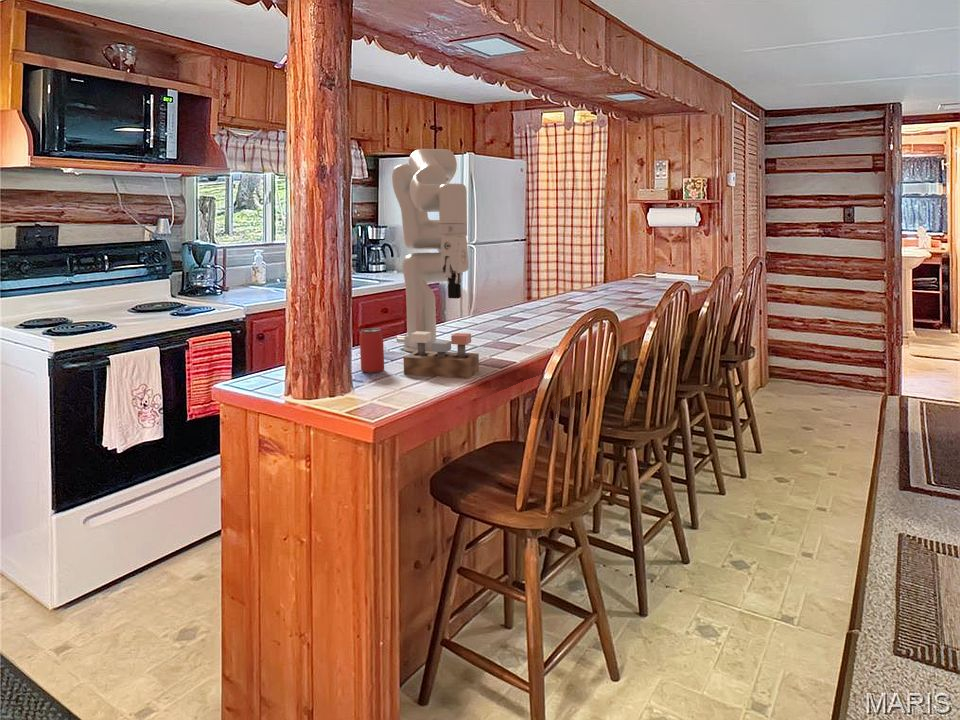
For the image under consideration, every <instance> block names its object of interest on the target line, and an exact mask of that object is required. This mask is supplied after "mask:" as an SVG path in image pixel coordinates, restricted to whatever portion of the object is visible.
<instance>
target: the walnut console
mask: <svg viewBox="0 0 960 720" xmlns="http://www.w3.org/2000/svg"><path fill="white" fill-rule="evenodd" d="M465 356H466V358H458V352H455V351H453V352H452V351H447V352H445V357H438V354H437V352H431V351H425V356H418V350H417V351H415V352H410V353H409V354H407V355H405V356H403V375H405V376H407V375H408V376H419V375H422V376H423V377H435V376H439V377H438V378H453V379H454V378H455V379H470V378H471V377H473V376H475V374H476V373H477V372H479V370H480V369H479V368H480V366H479V365H480V360H479V359H480V358H479V356H480V354H479V353H475V352H465Z"/></svg>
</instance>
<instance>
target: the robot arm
mask: <svg viewBox="0 0 960 720" xmlns="http://www.w3.org/2000/svg"><path fill="white" fill-rule="evenodd" d="M408 158H409V159H408V163H401V164H398V165H397V166H395V167H394V168H393V170H392V174H391V181H392V189H393V191H394V196H395V197H396V200H397V201H398V205H399V208H400V213H401V222H402V232H403V233H402V234H403V239H404V244H405V246H406V247H407V248H408V249H409V250H410V249H411V250H416V251H417V250H418V251H419V250H420V251H421V250H437V252H413V253H410V254H408V255H406V256H405V257H404V258H403V260H402V265H401V267H402V274H403V278H404V286H405V300H406V301H405V302H406V303H405V304H406V329H407V330H406V335H404V336H403V335H402V336H401V335H397V336H396V339H395V340H396V342H397V343H404V344H403V345H402V350H404V351H405V352H410V353H413V352H415V351H417V350H418V346H417V343H416V342H411V334H412V333H414V332H416V331H421V332H431V341H429V342H427V343H425V351H431V343H432V342H434V341H436V340H437V317H436V316H437V315H436V311H437V310H436V296H435V292H434V291H433V289H432V288H431V287H430V286H429V285H428V283H437V282H438V283H439V282H440V283H441V282H447V298H448V299H461V297H462V291H461V290H462V285H461V284H462V276H463V274H464V272H467V271H468V270H469V269H470V268H469V267H470V266H469V265H470V264H469V263H470V262H469V248H468V241H467V236H468V203H467V202H468V199H467V197H468V195H467V194H468V193H467V187H466V185H465V184H463V183H450V182H451V181H452V180H453V178H454V177H455V174H456V173H457V169H458V164H457V163H458V162H457V157H456V156H455V154H454V153H453V151H452V150H450V149H445V148H444V149H443V148H420V149H416V150H414V151H413V152H412V153H411V154H410V155H409V157H408ZM428 212H429V213H430V212H433V213H434V212H435V213H436V212H438V214H439V215H438V216H439V217H438V219H429V215H428Z"/></svg>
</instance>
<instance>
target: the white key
mask: <svg viewBox="0 0 960 720" xmlns="http://www.w3.org/2000/svg"><path fill="white" fill-rule="evenodd" d="M429 341H431V332H421V331H416V332H414V333H412V334H411V342H416V343H417V346H418V356H425V343H427V342H429Z"/></svg>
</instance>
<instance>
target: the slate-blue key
mask: <svg viewBox="0 0 960 720" xmlns="http://www.w3.org/2000/svg"><path fill="white" fill-rule="evenodd" d="M451 350H452V344H451V340H438V339H436V341H434V342H432V343H431V352H437V354H438V357H445V352H450V351H451Z"/></svg>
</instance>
